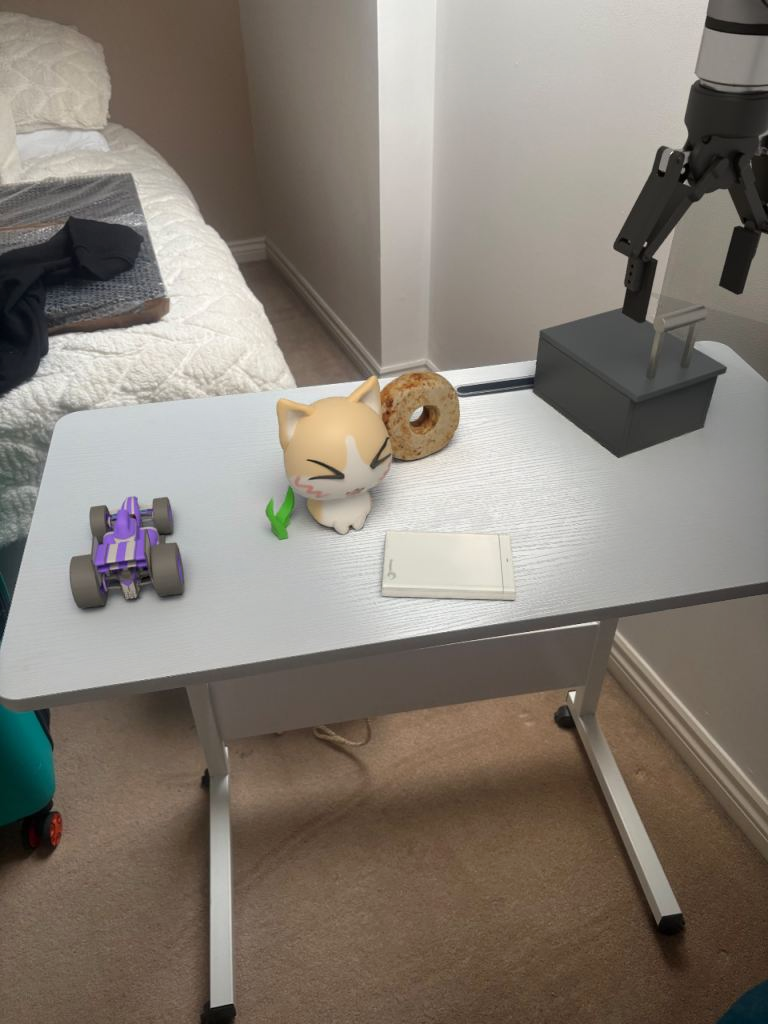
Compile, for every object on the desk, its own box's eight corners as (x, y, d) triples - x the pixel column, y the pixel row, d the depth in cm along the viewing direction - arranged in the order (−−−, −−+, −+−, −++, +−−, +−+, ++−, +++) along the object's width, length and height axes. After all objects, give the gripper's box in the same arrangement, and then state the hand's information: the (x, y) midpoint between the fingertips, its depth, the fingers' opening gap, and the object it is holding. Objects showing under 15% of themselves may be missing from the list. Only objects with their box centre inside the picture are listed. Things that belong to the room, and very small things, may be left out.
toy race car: (182, 505, 89) (171, 455, 85) (185, 603, 78) (173, 551, 73) (90, 517, 87) (75, 467, 83) (79, 619, 76) (61, 567, 72)
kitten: (285, 567, 81) (270, 440, 72) (253, 509, 88) (236, 386, 79) (421, 524, 86) (424, 400, 77) (380, 472, 93) (378, 352, 84)
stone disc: (383, 473, 93) (382, 396, 87) (369, 456, 95) (367, 380, 89) (463, 449, 96) (468, 374, 90) (448, 433, 99) (452, 359, 93)
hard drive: (381, 586, 77) (516, 589, 76) (385, 528, 83) (510, 531, 82) (381, 598, 78) (514, 602, 77) (386, 540, 84) (509, 543, 84)
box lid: (725, 373, 94) (744, 306, 89) (636, 403, 89) (650, 334, 84) (622, 312, 106) (634, 250, 101) (539, 336, 101) (546, 272, 96)
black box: (703, 427, 99) (719, 370, 94) (618, 458, 95) (630, 399, 90) (612, 366, 111) (622, 312, 106) (532, 391, 106) (538, 336, 101)
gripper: (800, 58, 81) (742, 266, 95) (598, 90, 72) (566, 315, 86) (866, 74, 76) (795, 291, 89) (658, 110, 67) (614, 345, 81)
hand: (683, 303), depth 88 cm, fingers open, 13 cm apart
